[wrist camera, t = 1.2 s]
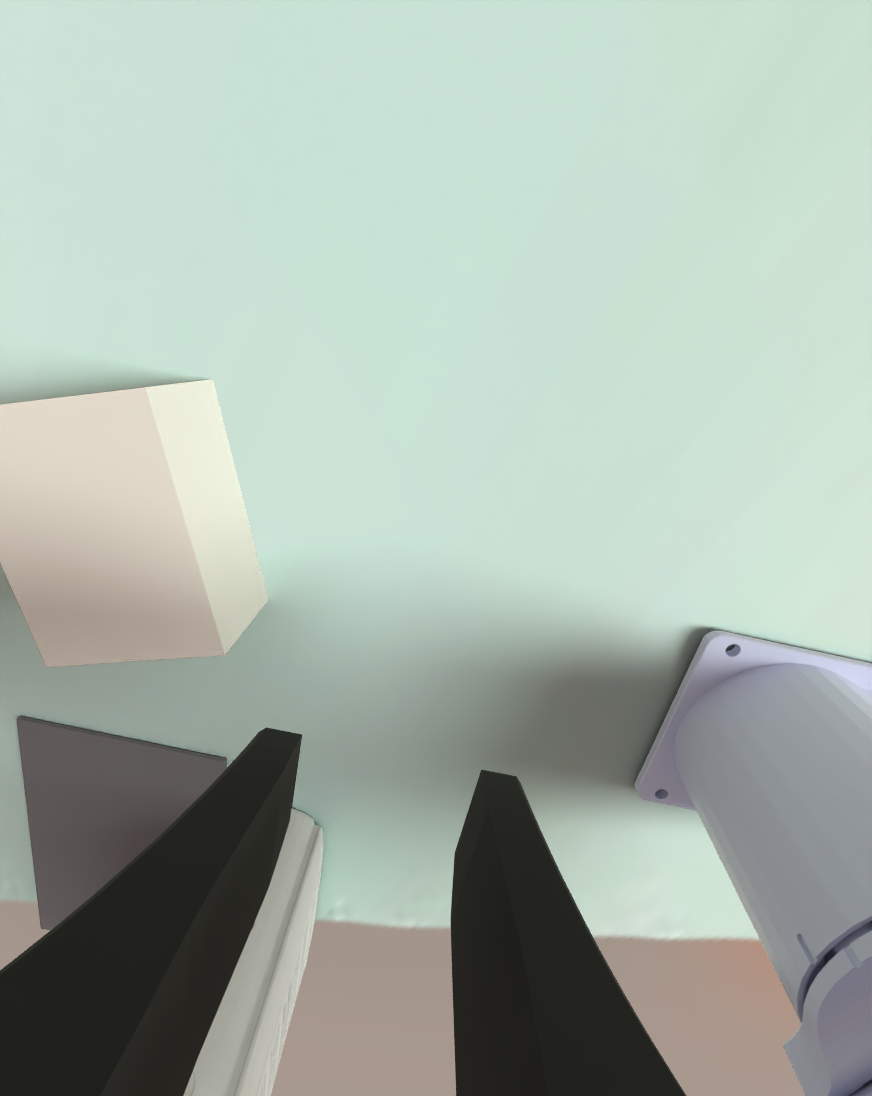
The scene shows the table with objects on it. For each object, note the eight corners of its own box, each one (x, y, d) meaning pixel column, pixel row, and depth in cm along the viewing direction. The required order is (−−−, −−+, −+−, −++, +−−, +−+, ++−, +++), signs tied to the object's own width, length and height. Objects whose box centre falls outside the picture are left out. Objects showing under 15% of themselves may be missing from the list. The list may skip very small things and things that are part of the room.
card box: (216, 378, 17) (145, 387, 13) (270, 597, 20) (224, 655, 16) (47, 398, 18) (-67, 412, 14) (123, 608, 20) (46, 667, 17)
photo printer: (240, 793, 23) (17, 1230, 12) (334, 810, 23) (204, 1262, 12) (231, 939, 27) (57, 1378, 16) (312, 953, 27) (199, 1400, 16)
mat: (226, 758, 23) (224, 762, 22) (211, 957, 28) (209, 961, 27) (20, 715, 22) (16, 719, 22) (43, 924, 27) (40, 928, 27)
